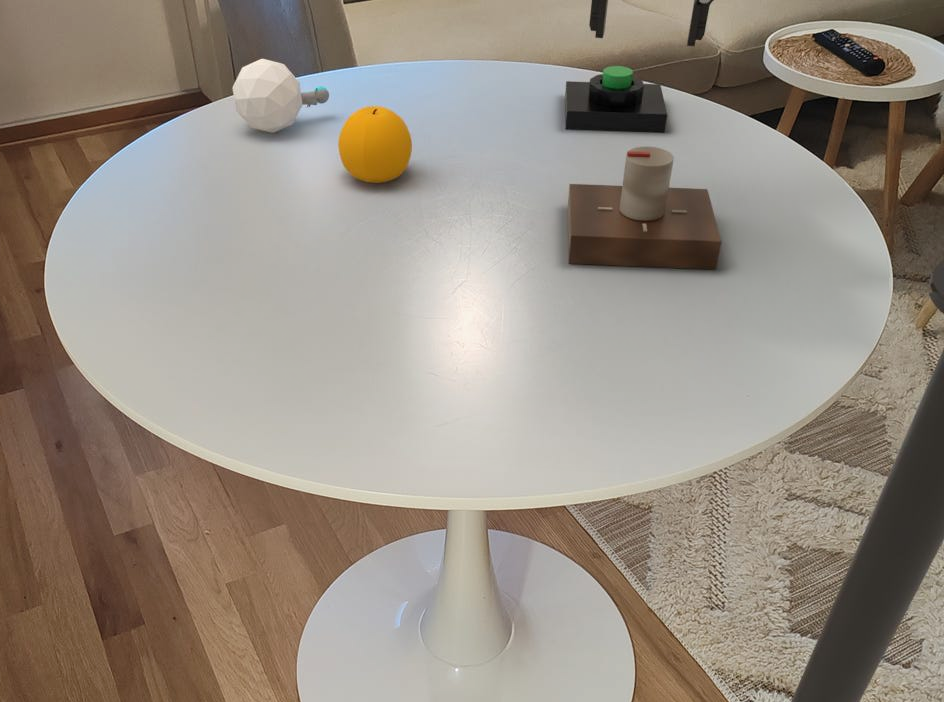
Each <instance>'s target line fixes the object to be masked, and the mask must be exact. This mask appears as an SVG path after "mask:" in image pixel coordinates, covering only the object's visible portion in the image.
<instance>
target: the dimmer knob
mask: <svg viewBox="0 0 944 702" xmlns="http://www.w3.org/2000/svg"><path fill="white" fill-rule="evenodd" d="M674 159H675V158H674V155H673V154H672V153H671V151H668V150H666V149H664V148H661V147H656V146H637V147H634V148H631V149H629V150H628V151H626V155H625V163H624V170H623V178H622V185H621V186H622V193H621V201H620V212H621V213H622V214H623V215H624V216H626V217H628V218H631V219H634V220H640V221H651V220H656V219H659V218H661V217H662V216H663V215H664V214H665V209H666V203H667V197H668V191H669V188H670V184H671V178H672V170H673V165H674Z"/></svg>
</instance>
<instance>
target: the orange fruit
mask: <svg viewBox="0 0 944 702" xmlns="http://www.w3.org/2000/svg"><path fill="white" fill-rule="evenodd" d="M337 143H338V145H337V146H338V147H337V148H338V153H339V158H340V160H341V163H342V166H343V168H345V170H346V171H347V173H349V174H350V175H351V176H353V177H354V178H355V179H357V180H359V181H362V182H364V183H371V184H372V183H373V184H374V183H375V184H380V183H386V182H391V181H392V180H395V179H396V178H398V177H400V175H402V174H403V173H404V171H406V169H407V168H408V166H409V163H410V160H411V157H412V152H413V142H412V136H411V133H410V131H409V128H408V126H407V124H406V122H405V121H404V120H403V118H402V117H401V116H399V115H398V114H397V113H395V112H394V111H393V110H391V109H389V108H386V107H384V106H378V105H371V106H364V107H362V108H359V109H358V110H356V111H354V112H353V113H351V115H350V116H348V118H347V119H346V120H345V122H344V124H343V126H342V127H341V130H340V133H339V136H338V142H337Z"/></svg>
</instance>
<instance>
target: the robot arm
mask: <svg viewBox="0 0 944 702" xmlns="http://www.w3.org/2000/svg"><path fill="white" fill-rule="evenodd" d="M714 1H715V0H693V6H692V11H691V18H690V23H689V28H688V36H687V42H686V46H687V47H695V45H696V41H702V40H703V38H704V37H705V33H706V28H707V22H708V17H709V10H710V6H711V5H712V3H713V2H714ZM608 5H609V0H591V4H590V13H589V14H590V15H589V23H588V24H589V25H588V26H589V29H590V31H591V32H595V34H594V36H595V39H603V38H604V35H605V31H606V23H607V14H608Z"/></svg>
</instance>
